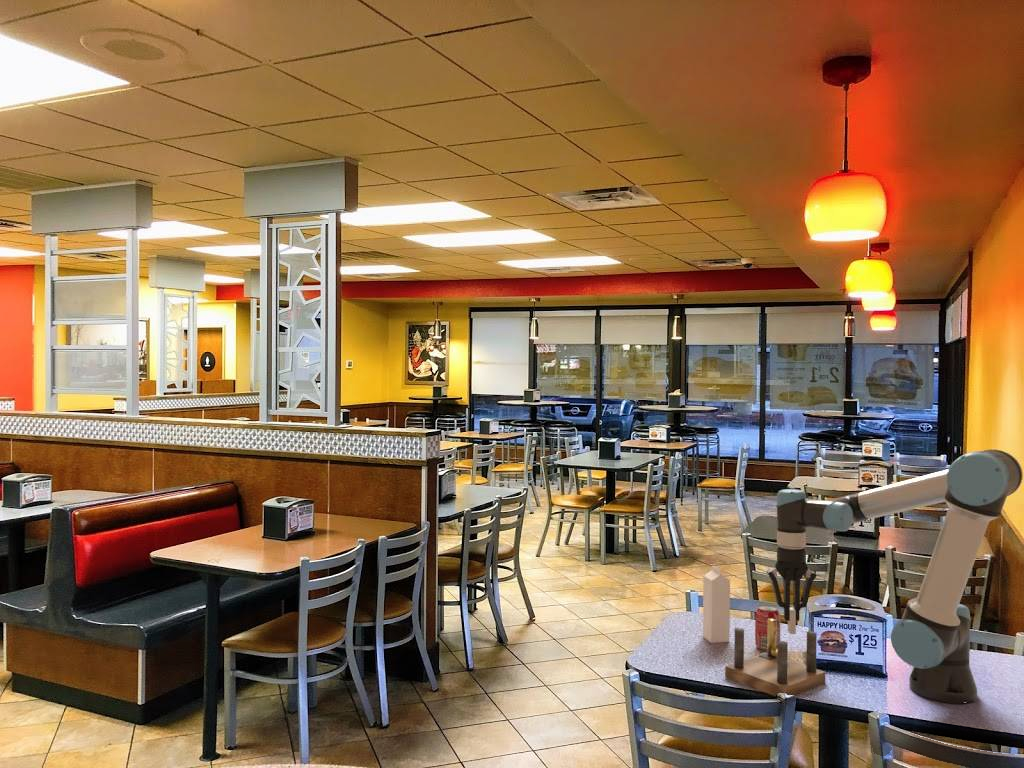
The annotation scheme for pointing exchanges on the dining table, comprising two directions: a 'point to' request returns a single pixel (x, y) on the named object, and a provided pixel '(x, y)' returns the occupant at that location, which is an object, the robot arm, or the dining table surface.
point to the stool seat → (775, 668)
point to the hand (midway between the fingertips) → (791, 632)
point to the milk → (716, 606)
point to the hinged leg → (772, 637)
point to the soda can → (765, 624)
